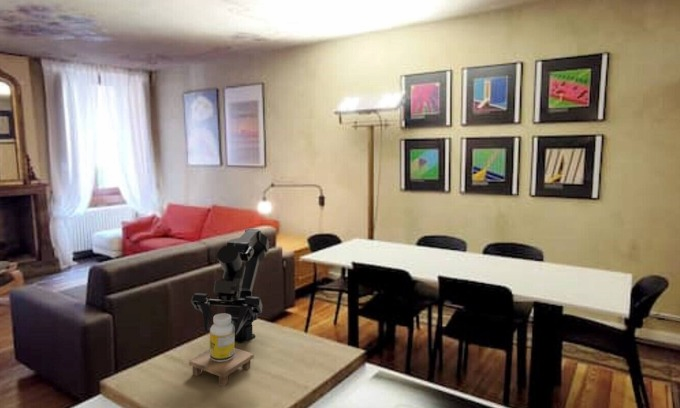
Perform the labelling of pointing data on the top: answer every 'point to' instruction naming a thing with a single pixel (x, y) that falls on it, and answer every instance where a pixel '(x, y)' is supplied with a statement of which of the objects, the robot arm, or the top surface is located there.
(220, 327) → the pill bottle
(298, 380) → the top surface
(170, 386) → the top surface
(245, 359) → the small wooden stand
